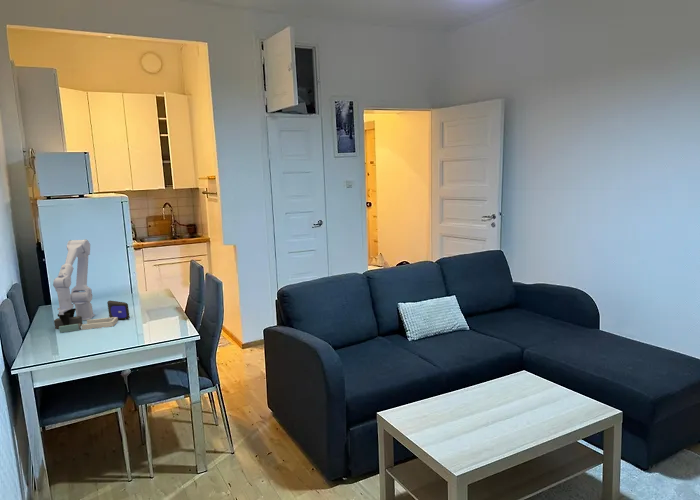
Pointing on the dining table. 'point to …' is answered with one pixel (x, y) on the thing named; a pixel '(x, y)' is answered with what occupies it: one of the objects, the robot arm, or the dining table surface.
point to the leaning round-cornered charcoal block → (118, 310)
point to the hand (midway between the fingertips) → (68, 324)
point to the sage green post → (70, 327)
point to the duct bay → (100, 323)
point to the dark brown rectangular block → (71, 320)
